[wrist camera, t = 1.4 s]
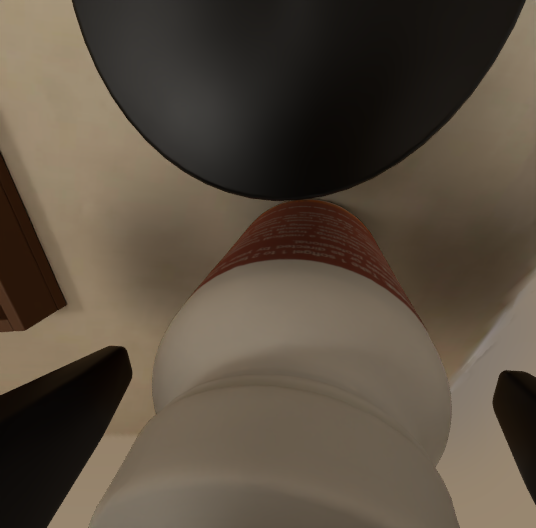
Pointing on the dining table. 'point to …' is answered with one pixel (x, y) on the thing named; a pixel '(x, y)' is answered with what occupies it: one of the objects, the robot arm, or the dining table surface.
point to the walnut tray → (22, 266)
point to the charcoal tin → (291, 82)
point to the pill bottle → (292, 392)
